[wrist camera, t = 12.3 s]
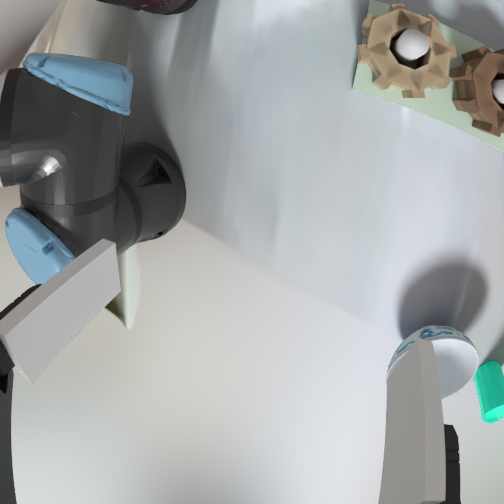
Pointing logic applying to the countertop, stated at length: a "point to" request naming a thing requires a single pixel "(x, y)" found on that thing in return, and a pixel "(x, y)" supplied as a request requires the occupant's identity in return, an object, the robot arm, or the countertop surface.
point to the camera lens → (155, 5)
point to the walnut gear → (480, 88)
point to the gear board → (435, 99)
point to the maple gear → (386, 66)
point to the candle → (490, 391)
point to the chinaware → (444, 356)
